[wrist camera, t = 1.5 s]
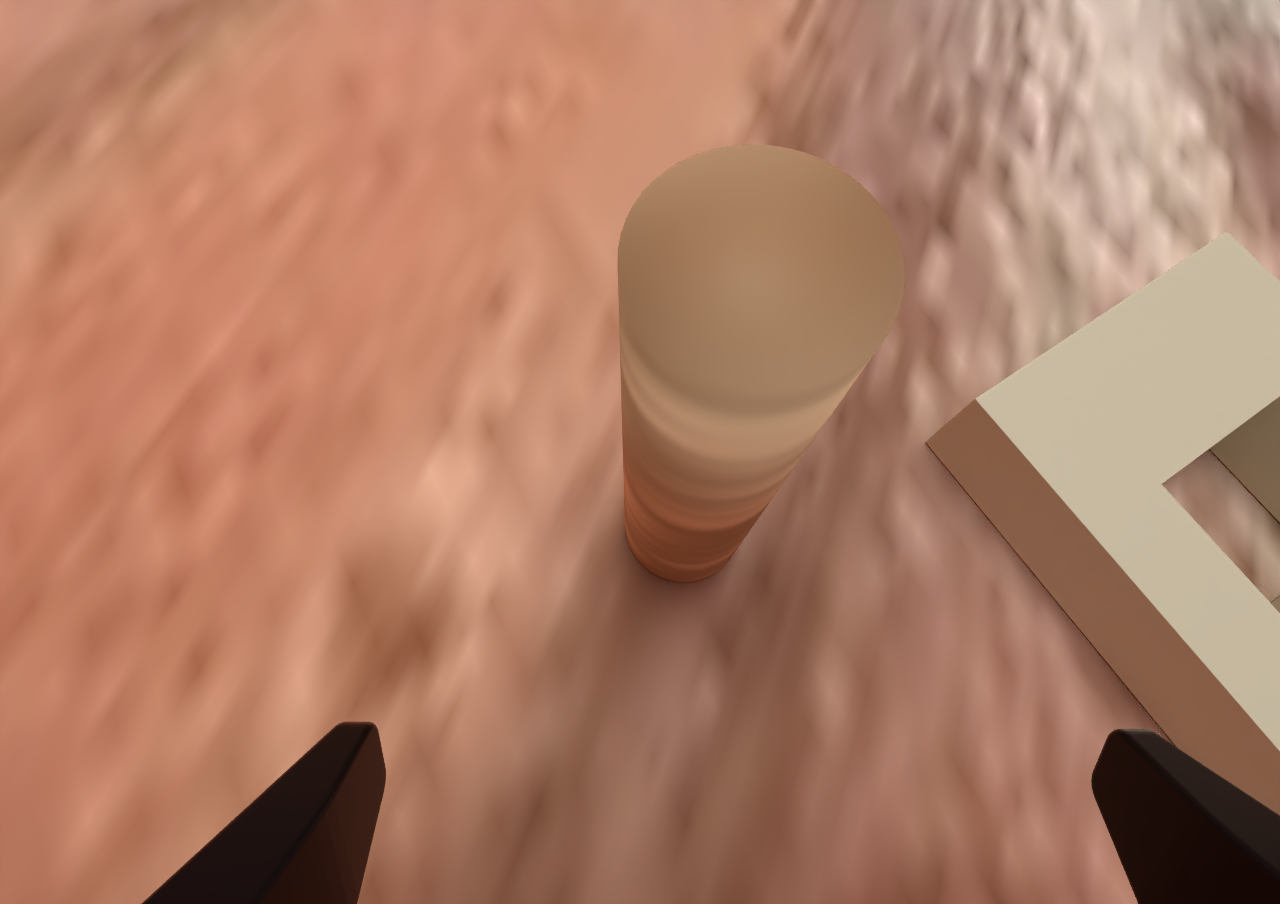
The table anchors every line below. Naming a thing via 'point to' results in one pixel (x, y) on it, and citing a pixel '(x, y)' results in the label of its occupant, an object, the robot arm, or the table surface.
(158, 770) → the table surface
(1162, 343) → the socket block
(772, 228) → the peg
